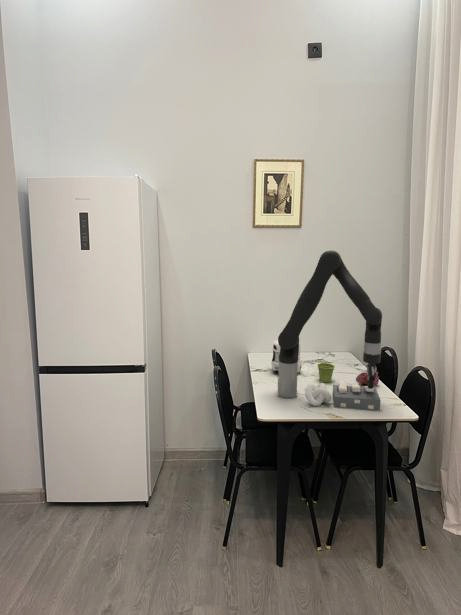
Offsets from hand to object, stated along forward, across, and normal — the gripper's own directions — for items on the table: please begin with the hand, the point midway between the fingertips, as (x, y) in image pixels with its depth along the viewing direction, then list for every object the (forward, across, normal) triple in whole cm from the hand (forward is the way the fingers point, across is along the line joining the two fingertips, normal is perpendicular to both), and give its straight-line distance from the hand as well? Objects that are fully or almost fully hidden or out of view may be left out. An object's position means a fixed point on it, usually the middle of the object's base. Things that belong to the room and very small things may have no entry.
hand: (370, 388), depth 185 cm
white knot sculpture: (+8, +2, -24) cm, 26 cm away
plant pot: (+8, -30, -19) cm, 36 cm away
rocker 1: (+1, -3, -12) cm, 13 cm away
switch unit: (+8, -3, -6) cm, 11 cm away
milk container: (+8, -41, -41) cm, 58 cm away
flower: (+9, -27, +2) cm, 28 cm away
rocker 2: (+1, -3, -6) cm, 7 cm away
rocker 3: (+1, -3, 0) cm, 3 cm away
